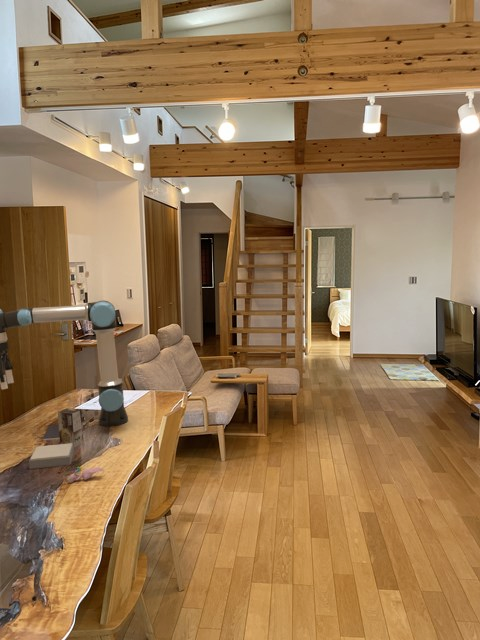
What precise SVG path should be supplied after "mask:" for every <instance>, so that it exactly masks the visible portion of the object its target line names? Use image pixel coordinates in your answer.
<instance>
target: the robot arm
mask: <svg viewBox="0 0 480 640" xmlns="http://www.w3.org/2000/svg"><path fill="white" fill-rule="evenodd" d="M71 321H74V322H75V321H87V322H90V323H91V328H92V332H94V334H95V337H96V338H95V339H96V347H97V357H98V358H97V359H98V368H99V377H100V381H99V382H98V384H97V390H98V391H97V392H98V404H99V406H100V407H101V408H100V413H99V416H98V424H99V425H100V426H105V427H111V426H120V425H122V424H125V423H127V422H129V415H128V413H127V411H126V408H125V400H124V399H125V398H124V387H123V386H124V382H123V379H122V378H119V371H118V363H117V349H116V339H115V330H116V329H117V319H116V308H115V306H114V305H113V303H111V302H109V301H108V300H99V301H93V302H87V303H85V304H79V305H64V306H63V305H60V306H48V307H45V306H44V307H29V308H26V307H21V308H18V309H16V310H13V311H7V312H3V310H2V309H1V308H0V389H1V390H6V389H9V386H8V385H9V384H14V383H15V381H14V376H13V371H12V370H14V367H13V365H12V363H11V359H10V357H9V354H8V350H9V349H10V347H9V342H8V340H9V339H8V335H7V329H12V328H17V327H25V326H28V325H29V326H30V325H31V324H39V323H53V322H71Z"/></svg>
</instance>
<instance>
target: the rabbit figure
mask: <svg viewBox="0 0 480 640" xmlns="http://www.w3.org/2000/svg"><path fill="white" fill-rule="evenodd" d="M81 470H82V468H81V466H77V467H76V470H75V471H74V472H73V473H71V474H70V475H69V476H67V475H66V476H64V477H63V483H64V485H65V484H66V481H67V482H68V483H69V484H72V483H74V482H76V481H79V480H81V479H83V480H85V481H87V480H88V479H91V478H92V477H93V475H94V474H96V473H98V472H104V471H105V470H104V468H103V467H100V466H99V467H98V466H96V467H94V468H85V469H84V470H83V471H82V473H81V474H80V472H81Z"/></svg>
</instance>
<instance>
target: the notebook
mask: <svg viewBox="0 0 480 640" xmlns="http://www.w3.org/2000/svg"><path fill="white" fill-rule="evenodd" d="M41 440H42V441H43V442H44V441H54V440H55V441H56V440H60V436H59V424H51V425H48V427H47V429H46V431H45V432H44V435H43V437H42V439H41Z"/></svg>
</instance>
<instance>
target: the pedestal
mask: <svg viewBox="0 0 480 640" xmlns="http://www.w3.org/2000/svg"><path fill="white" fill-rule="evenodd" d="M74 454H75V447H74V444H72V443H69V444H60V443H59V444H51V445H41V446H36V447H35V449H34V450H33V452H32V454H31V456H30V458H29V460H28V467H29V470H34V469H35V470H36V469H42V468H45V469H46V468H52V467H54V468H55V467H62V466H71V464H72V460H73V457H74Z"/></svg>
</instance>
